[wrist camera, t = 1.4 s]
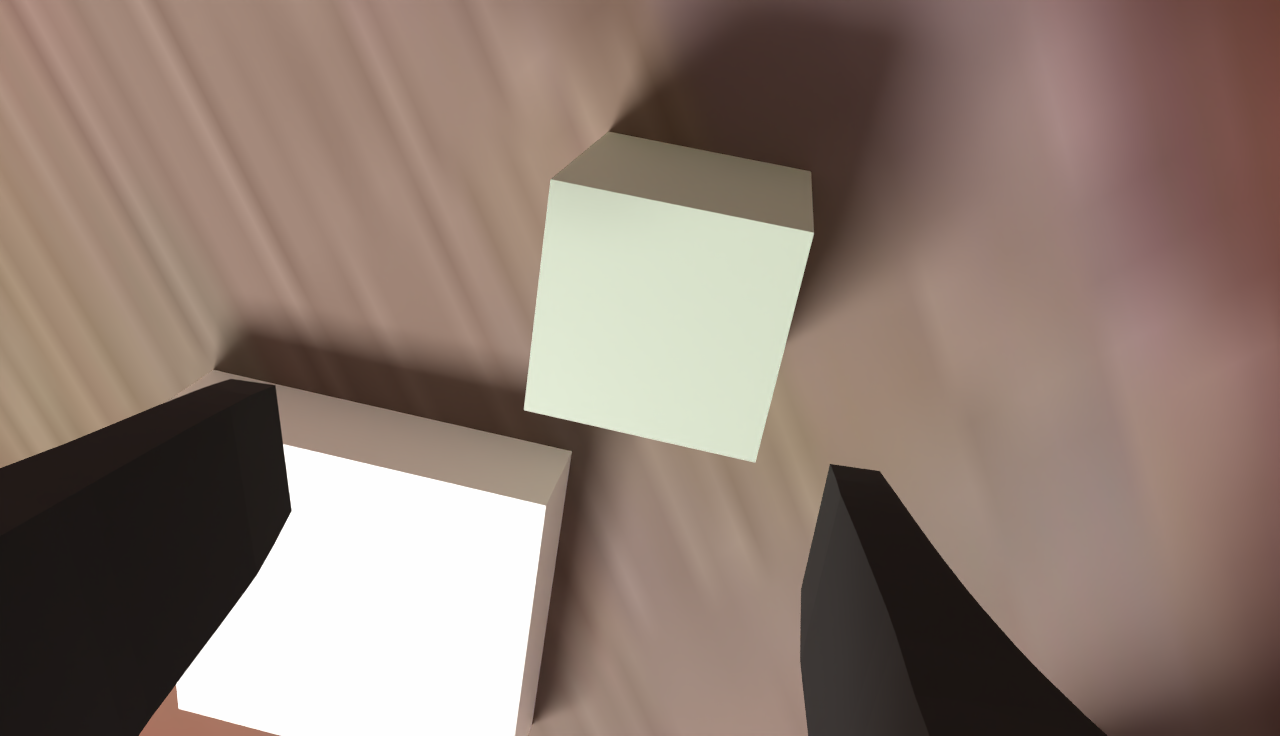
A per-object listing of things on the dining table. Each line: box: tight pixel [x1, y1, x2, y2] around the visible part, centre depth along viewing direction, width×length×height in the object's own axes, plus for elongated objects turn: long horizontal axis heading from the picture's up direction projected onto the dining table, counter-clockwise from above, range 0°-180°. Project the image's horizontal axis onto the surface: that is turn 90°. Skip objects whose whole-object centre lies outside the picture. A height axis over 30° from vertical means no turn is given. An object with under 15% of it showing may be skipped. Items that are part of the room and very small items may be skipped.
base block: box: [165, 370, 572, 736], centre depth 24 cm, size 10×10×3 cm
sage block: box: [524, 132, 814, 462], centre depth 18 cm, size 4×4×5 cm
